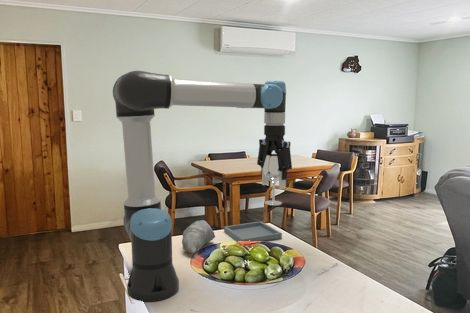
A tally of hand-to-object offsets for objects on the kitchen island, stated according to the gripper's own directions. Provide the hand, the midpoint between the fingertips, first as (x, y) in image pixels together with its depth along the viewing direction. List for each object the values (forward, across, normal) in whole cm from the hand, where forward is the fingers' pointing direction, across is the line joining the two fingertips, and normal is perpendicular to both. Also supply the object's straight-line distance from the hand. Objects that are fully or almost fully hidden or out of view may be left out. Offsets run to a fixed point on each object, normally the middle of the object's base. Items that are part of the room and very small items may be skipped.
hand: (273, 186), depth 145 cm
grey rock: (+25, +21, +20) cm, 38 cm away
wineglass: (+6, 0, 0) cm, 6 cm away
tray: (+25, +18, -6) cm, 31 cm away
